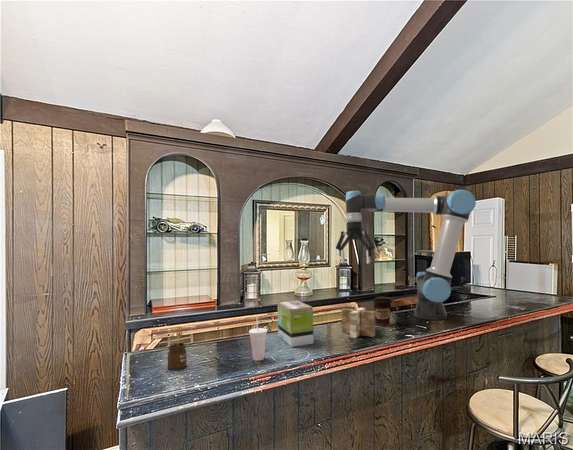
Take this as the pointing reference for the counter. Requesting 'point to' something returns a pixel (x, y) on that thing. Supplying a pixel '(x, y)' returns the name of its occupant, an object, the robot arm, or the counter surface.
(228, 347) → the counter surface
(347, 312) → the walnut board
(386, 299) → the coffee cup
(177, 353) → the utensil holder
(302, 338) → the tea box
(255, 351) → the smoothie
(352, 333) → the maple plate
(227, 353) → the counter surface
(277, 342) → the counter surface
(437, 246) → the robot arm
